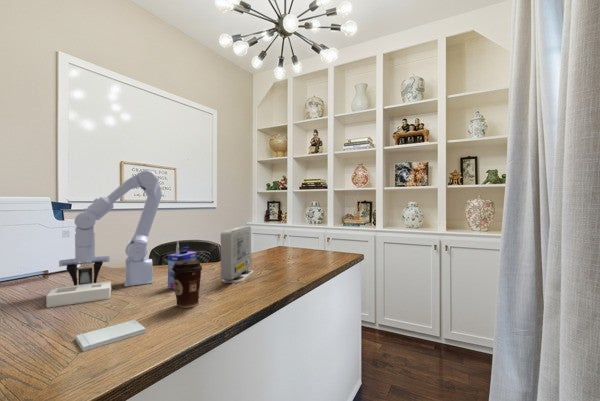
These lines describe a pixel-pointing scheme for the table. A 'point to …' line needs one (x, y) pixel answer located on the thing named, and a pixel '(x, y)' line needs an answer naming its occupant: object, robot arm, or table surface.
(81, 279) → the pipe stub
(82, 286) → the block
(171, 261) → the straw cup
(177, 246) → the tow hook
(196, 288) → the coffee cup
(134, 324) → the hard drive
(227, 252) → the network device
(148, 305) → the table surface
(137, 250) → the robot arm
